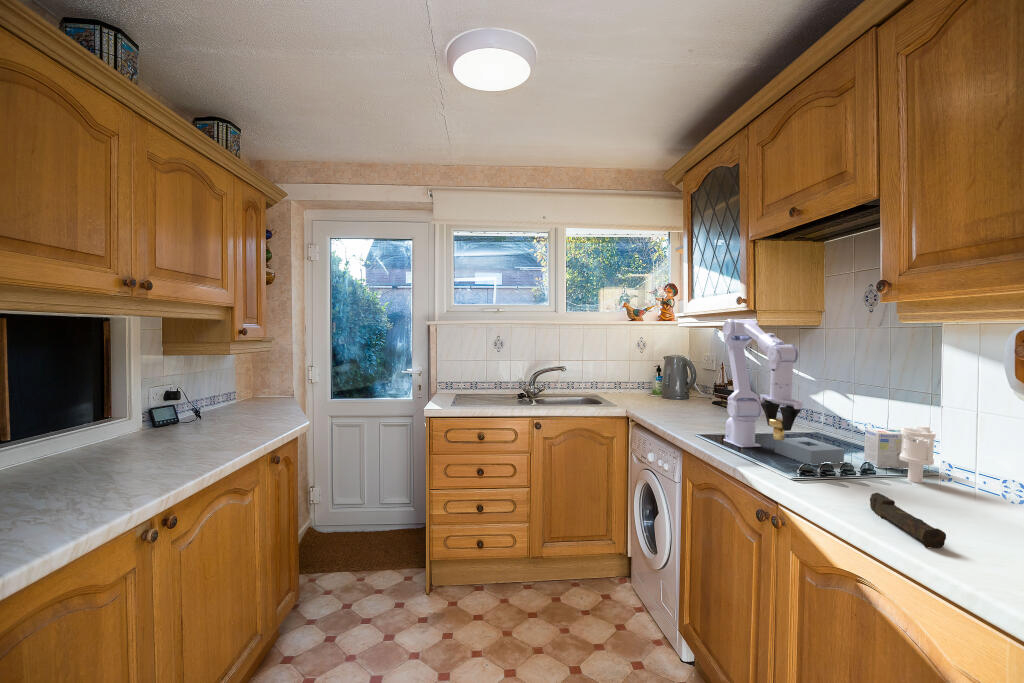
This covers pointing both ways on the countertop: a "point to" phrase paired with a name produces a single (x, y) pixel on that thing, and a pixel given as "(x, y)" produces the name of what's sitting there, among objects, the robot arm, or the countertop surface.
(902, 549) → the countertop surface
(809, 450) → the block
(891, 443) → the light bulb box
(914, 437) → the strainer
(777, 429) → the brass door knob
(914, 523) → the brown wooden log
